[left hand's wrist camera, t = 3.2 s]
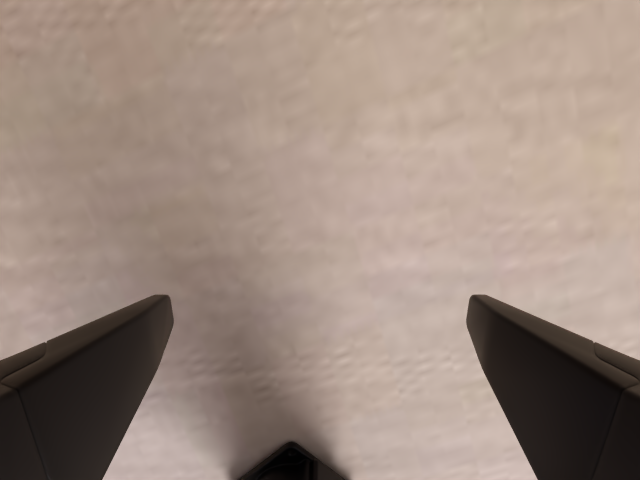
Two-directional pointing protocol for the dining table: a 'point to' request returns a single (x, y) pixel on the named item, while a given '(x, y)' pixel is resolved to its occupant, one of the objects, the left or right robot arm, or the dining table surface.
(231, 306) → the dining table surface
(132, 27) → the dining table surface
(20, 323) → the dining table surface
